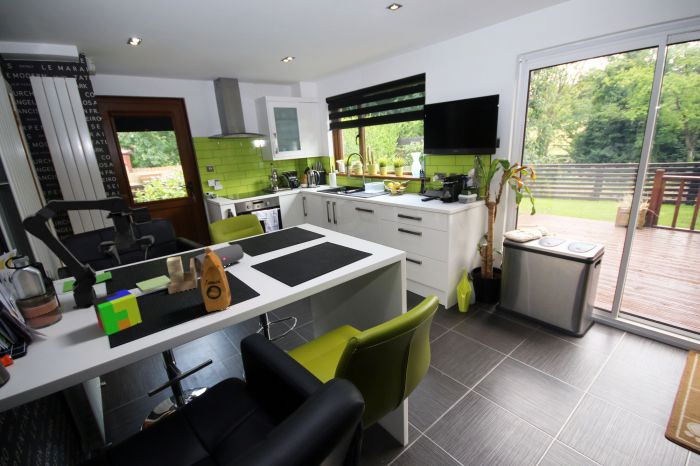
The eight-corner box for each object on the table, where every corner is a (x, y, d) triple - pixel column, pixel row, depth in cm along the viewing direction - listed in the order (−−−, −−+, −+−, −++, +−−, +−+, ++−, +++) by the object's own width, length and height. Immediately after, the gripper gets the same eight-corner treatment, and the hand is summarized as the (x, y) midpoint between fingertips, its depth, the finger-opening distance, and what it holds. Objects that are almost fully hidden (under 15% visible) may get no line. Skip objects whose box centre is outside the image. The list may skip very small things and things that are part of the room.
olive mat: (143, 292, 136) (143, 290, 136) (136, 284, 144) (135, 283, 144) (173, 282, 144) (173, 281, 144) (164, 276, 152) (164, 275, 152)
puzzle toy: (132, 313, 118) (125, 289, 115) (141, 322, 112) (135, 296, 109) (99, 325, 110) (91, 299, 108) (107, 335, 104) (100, 308, 102)
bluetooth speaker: (204, 277, 148) (200, 257, 146) (194, 273, 154) (190, 254, 151) (245, 262, 166) (243, 244, 163) (235, 259, 171) (232, 241, 169)
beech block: (171, 285, 136) (166, 261, 133) (172, 281, 140) (167, 258, 138) (184, 283, 138) (179, 259, 135) (185, 279, 142) (180, 256, 140)
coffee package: (202, 315, 114) (191, 258, 108) (205, 300, 125) (195, 248, 119) (231, 309, 117) (222, 253, 111) (231, 295, 128) (223, 244, 122)
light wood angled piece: (169, 294, 133) (164, 271, 130) (171, 282, 144) (167, 262, 142) (197, 288, 137) (192, 266, 134) (197, 277, 148) (193, 257, 146)
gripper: (88, 235, 120) (100, 273, 124) (145, 227, 127) (154, 264, 131) (98, 228, 130) (108, 264, 134) (150, 222, 137) (158, 256, 141)
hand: (132, 262), depth 135 cm, fingers open, 9 cm apart
